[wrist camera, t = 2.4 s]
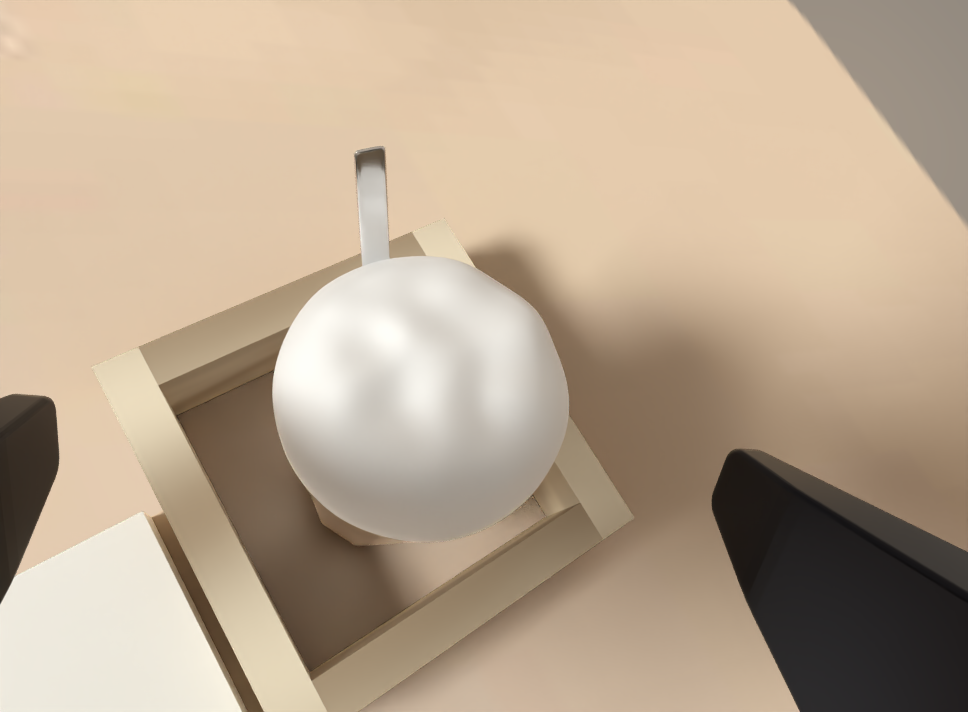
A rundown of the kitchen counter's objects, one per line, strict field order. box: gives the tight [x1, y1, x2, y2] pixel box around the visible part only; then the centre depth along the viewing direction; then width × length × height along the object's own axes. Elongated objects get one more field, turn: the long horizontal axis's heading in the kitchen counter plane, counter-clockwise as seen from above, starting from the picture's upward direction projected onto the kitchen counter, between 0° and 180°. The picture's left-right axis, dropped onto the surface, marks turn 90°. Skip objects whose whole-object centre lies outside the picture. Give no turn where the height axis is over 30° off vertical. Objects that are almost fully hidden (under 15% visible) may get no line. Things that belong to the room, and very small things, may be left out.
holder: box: [92, 218, 635, 712], centre depth 17 cm, size 9×9×2 cm
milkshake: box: [272, 146, 569, 546], centre depth 14 cm, size 4×5×10 cm
